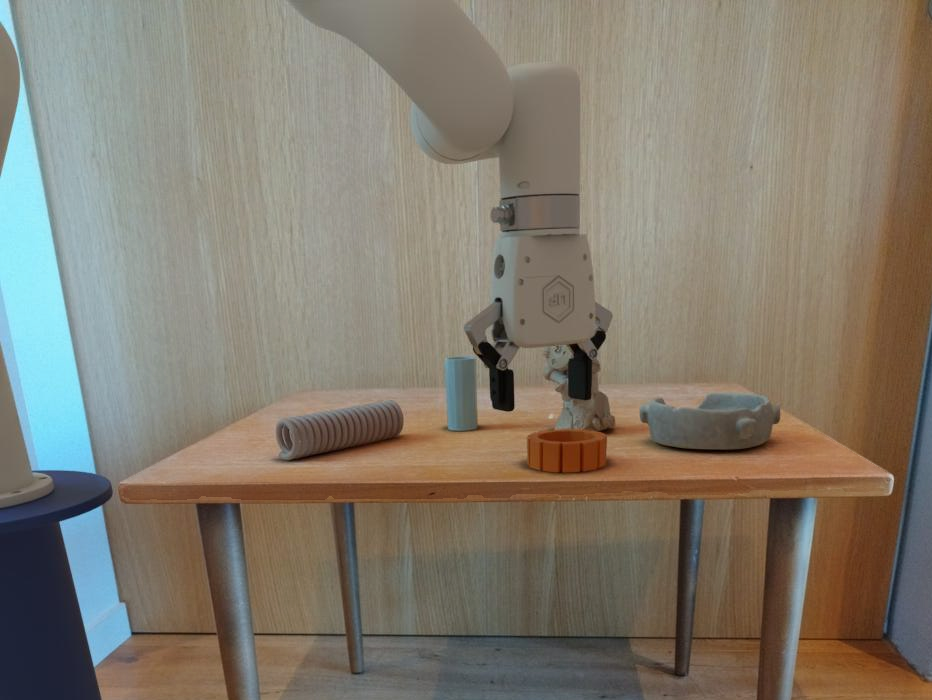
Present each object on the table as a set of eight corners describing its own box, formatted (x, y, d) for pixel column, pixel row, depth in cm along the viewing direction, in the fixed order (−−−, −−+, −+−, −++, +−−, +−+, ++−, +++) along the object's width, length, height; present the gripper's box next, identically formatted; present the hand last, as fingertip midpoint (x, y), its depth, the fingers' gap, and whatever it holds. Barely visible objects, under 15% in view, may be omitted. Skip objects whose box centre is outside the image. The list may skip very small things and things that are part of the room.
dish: (624, 443, 101) (626, 400, 99) (697, 427, 109) (699, 387, 107) (727, 460, 91) (731, 413, 89) (798, 442, 99) (804, 398, 97)
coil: (382, 399, 109) (265, 420, 97) (406, 398, 106) (289, 419, 94) (387, 436, 111) (273, 460, 99) (411, 436, 108) (296, 461, 96)
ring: (558, 476, 87) (558, 447, 85) (512, 462, 93) (512, 435, 92) (621, 465, 91) (622, 436, 89) (573, 452, 97) (573, 426, 96)
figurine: (572, 423, 115) (575, 261, 107) (626, 428, 110) (633, 259, 101) (533, 433, 109) (532, 263, 100) (587, 440, 104) (591, 261, 95)
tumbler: (457, 432, 111) (454, 360, 107) (442, 427, 114) (439, 358, 111) (483, 428, 113) (481, 357, 109) (467, 424, 116) (465, 355, 112)
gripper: (484, 219, 74) (491, 419, 81) (635, 216, 82) (630, 398, 89) (441, 224, 79) (452, 410, 86) (587, 220, 87) (585, 391, 94)
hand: (542, 404), depth 88 cm, fingers open, 9 cm apart
